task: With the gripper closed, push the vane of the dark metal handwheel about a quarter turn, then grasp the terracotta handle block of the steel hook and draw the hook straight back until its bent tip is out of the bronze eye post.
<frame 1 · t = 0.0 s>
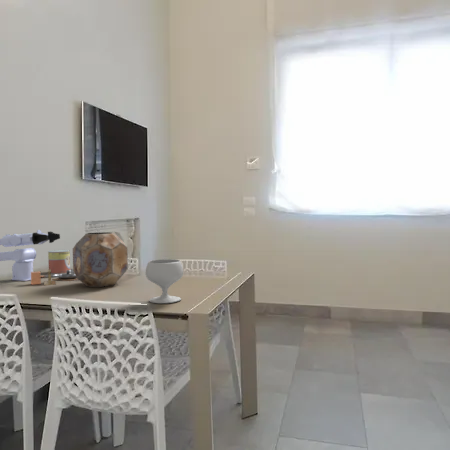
hand: (53, 236, 208), 22 cm above the table, tool horizontal, fingers open, 7 cm apart
eye post: (49, 283, 205), on the table
wheel mount: (68, 278, 217), on the table
canned food: (59, 272, 240), on the table
planter: (101, 285, 199), on the table
chalice: (165, 301, 163), on the table
hook rod: (46, 277, 204), point 3 cm above the table, slide at 0.0 cm
handwheel: (68, 272, 217), point 3 cm above the table, hinge at 0.0°
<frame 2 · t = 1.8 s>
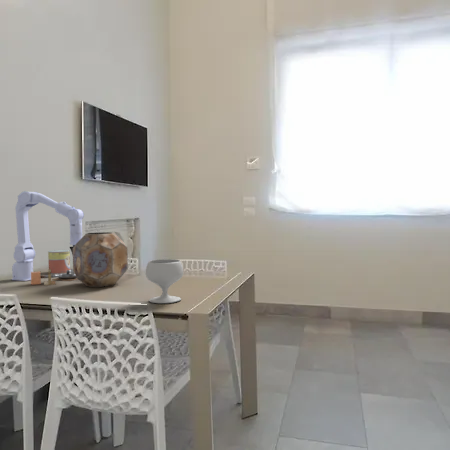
hand: (76, 261, 212), 9 cm above the table, tool pointing down, fingers open, 5 cm apart
nothing on the table moved.
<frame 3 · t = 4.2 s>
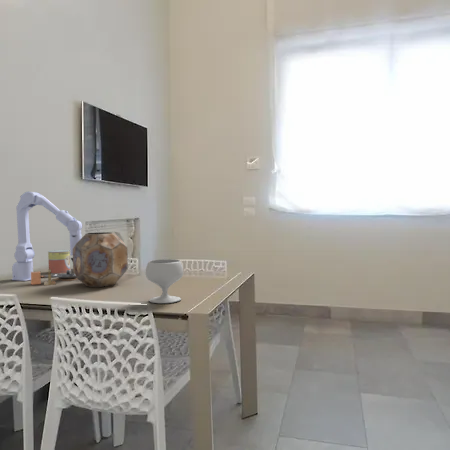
hand: (77, 271, 216), 4 cm above the table, tool pointing down, fingers closed, pressing on handwheel
handwheel: (68, 272, 217), point 3 cm above the table, hinge at 14.4°, touching gripper
everything else where it was.
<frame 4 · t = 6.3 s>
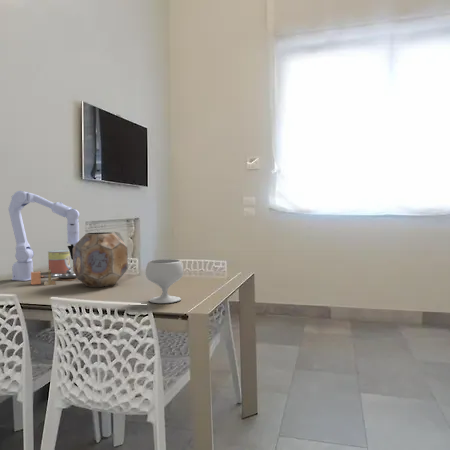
hand: (73, 259, 219), 9 cm above the table, tool pointing down, fingers closed
handwheel: (68, 272, 217), point 3 cm above the table, hinge at 112.4°
everything else where it was.
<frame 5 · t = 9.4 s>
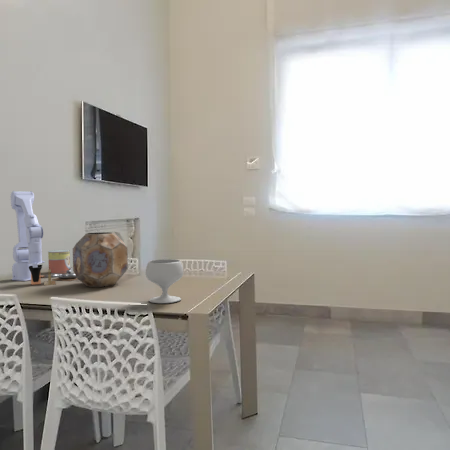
hand: (36, 281, 202), 1 cm above the table, tool pointing down, fingers closed on hook rod, 4 cm apart
hook rod: (46, 277, 204), point 3 cm above the table, slide at 0.0 cm, touching gripper
everything else where it was.
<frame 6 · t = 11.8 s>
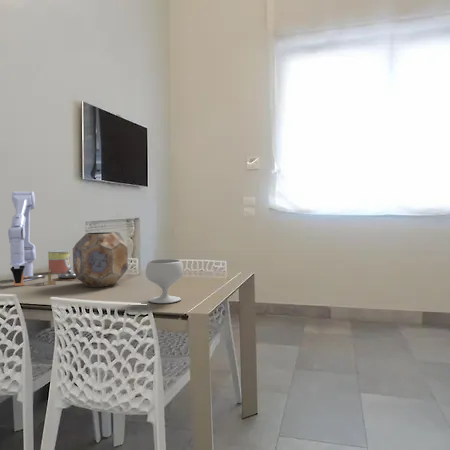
hand: (18, 282, 199), 1 cm above the table, tool pointing down, fingers closed on hook rod, 4 cm apart
hook rod: (29, 278, 201), point 3 cm above the table, slide at 7.2 cm, touching gripper
everything else where it was.
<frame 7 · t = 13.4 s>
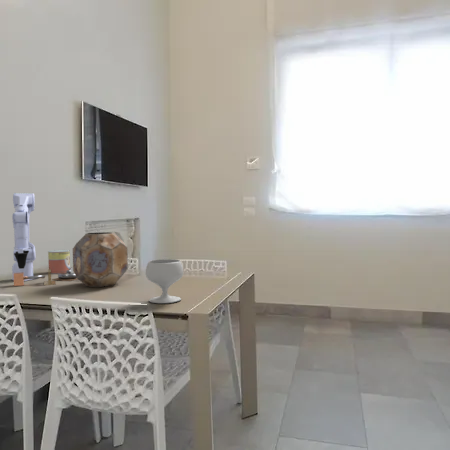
hand: (22, 267, 200), 8 cm above the table, tool pointing down, fingers open, 7 cm apart
hook rod: (29, 278, 201), point 3 cm above the table, slide at 7.2 cm
everything else where it was.
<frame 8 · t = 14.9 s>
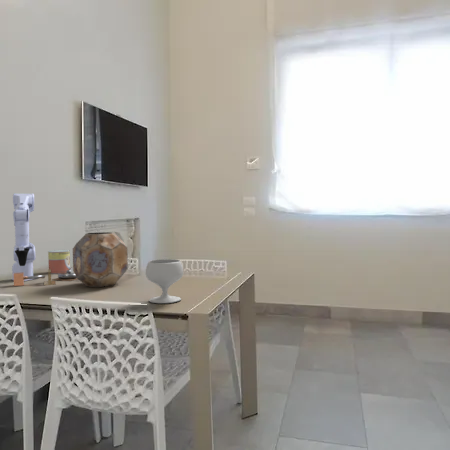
hand: (22, 264, 200), 9 cm above the table, tool pointing down, fingers open, 7 cm apart
nothing on the table moved.
at the end: handwheel at +112° (first picture: +0°); hook rod slide at 7.2 cm; the gripper is holding nothing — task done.
